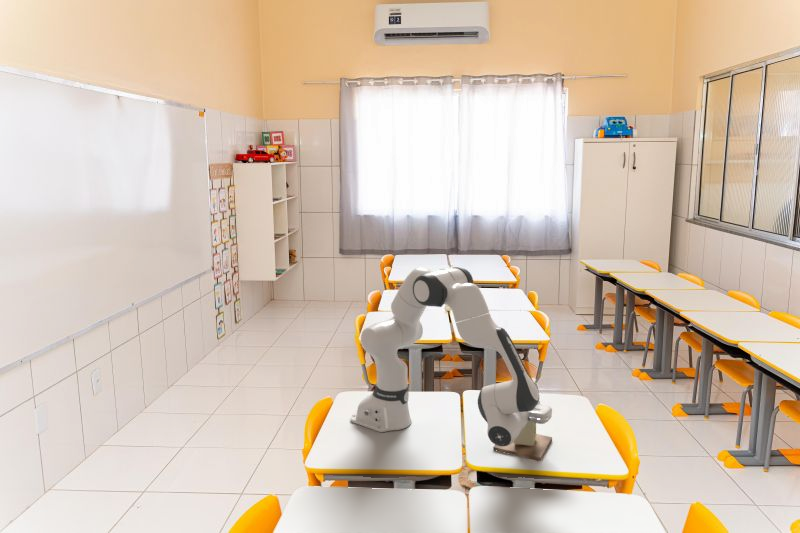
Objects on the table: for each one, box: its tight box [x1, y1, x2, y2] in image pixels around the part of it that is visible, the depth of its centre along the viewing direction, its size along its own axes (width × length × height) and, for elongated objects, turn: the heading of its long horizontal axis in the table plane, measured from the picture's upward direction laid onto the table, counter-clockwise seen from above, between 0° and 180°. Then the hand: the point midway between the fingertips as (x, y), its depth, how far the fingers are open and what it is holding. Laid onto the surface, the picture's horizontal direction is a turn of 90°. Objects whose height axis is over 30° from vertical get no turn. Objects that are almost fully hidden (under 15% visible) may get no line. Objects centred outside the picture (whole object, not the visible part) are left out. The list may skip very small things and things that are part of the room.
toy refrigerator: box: [514, 377, 539, 446], centre depth 213 cm, size 8×7×21 cm
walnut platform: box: [492, 433, 553, 462], centre depth 215 cm, size 16×16×1 cm
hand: (525, 400), depth 213 cm, fingers closed on toy refrigerator, 7 cm apart
